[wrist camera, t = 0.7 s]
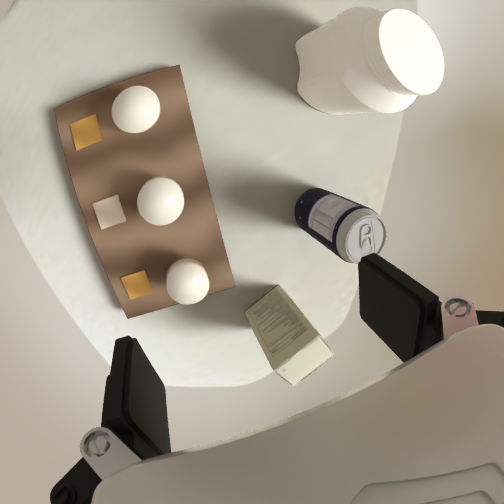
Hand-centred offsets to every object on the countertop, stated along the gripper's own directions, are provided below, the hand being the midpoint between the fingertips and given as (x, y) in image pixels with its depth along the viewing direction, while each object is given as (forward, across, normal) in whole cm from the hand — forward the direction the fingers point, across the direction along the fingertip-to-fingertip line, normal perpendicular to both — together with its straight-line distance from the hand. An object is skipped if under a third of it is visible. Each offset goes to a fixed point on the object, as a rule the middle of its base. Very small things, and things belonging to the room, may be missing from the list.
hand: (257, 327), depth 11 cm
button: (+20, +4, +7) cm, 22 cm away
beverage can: (+25, -13, +5) cm, 28 cm away
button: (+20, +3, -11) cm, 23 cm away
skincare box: (+24, -5, +17) cm, 30 cm away
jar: (+25, -20, -12) cm, 34 cm away
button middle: (+20, +4, -2) cm, 21 cm away
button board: (+24, +6, -2) cm, 25 cm away
